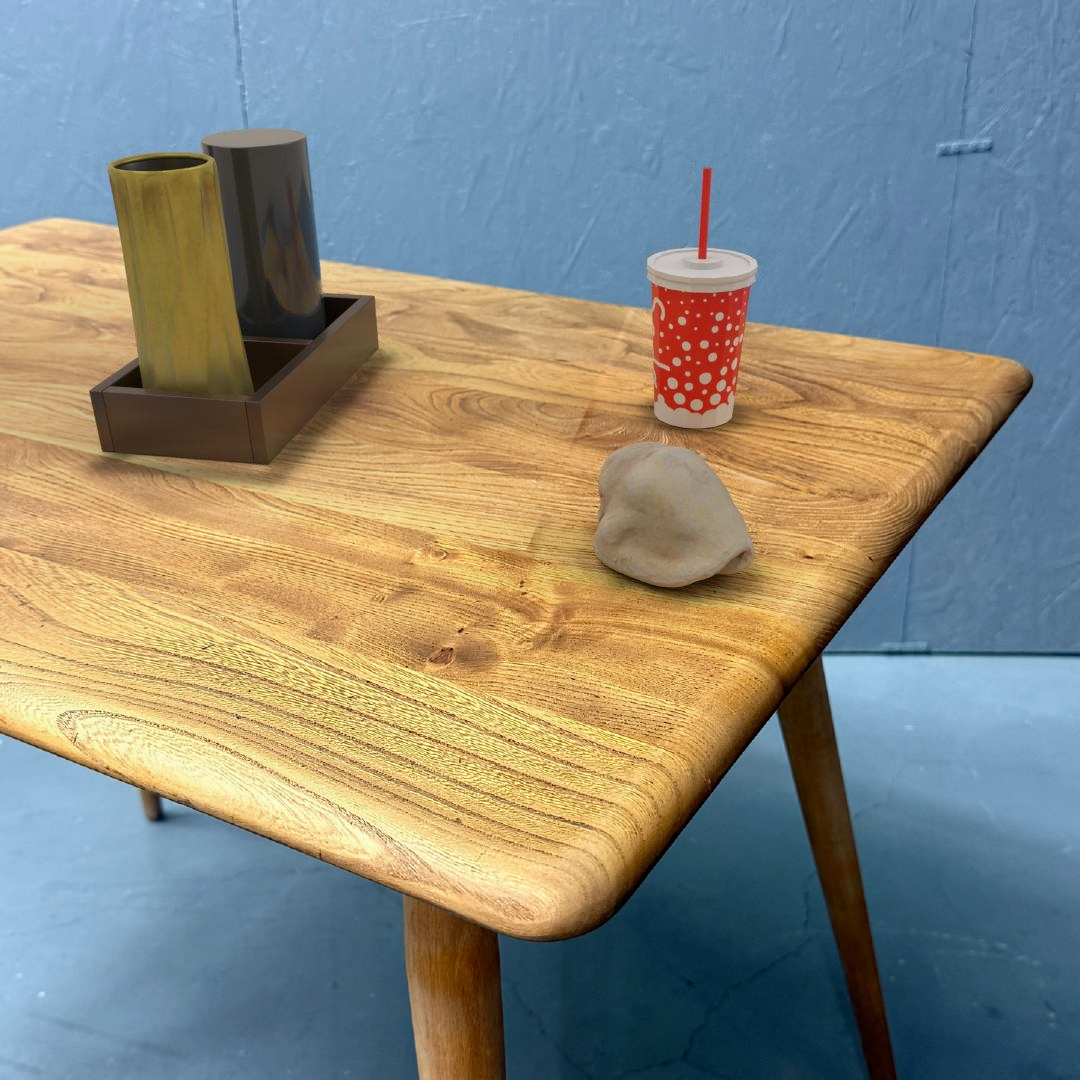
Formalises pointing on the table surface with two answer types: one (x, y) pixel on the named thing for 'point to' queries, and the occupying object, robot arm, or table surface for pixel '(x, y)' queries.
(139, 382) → the rack
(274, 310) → the dark grey cylinder
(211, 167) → the vase
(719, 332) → the beverage cup
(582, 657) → the table surface
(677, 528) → the stone
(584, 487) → the table surface
